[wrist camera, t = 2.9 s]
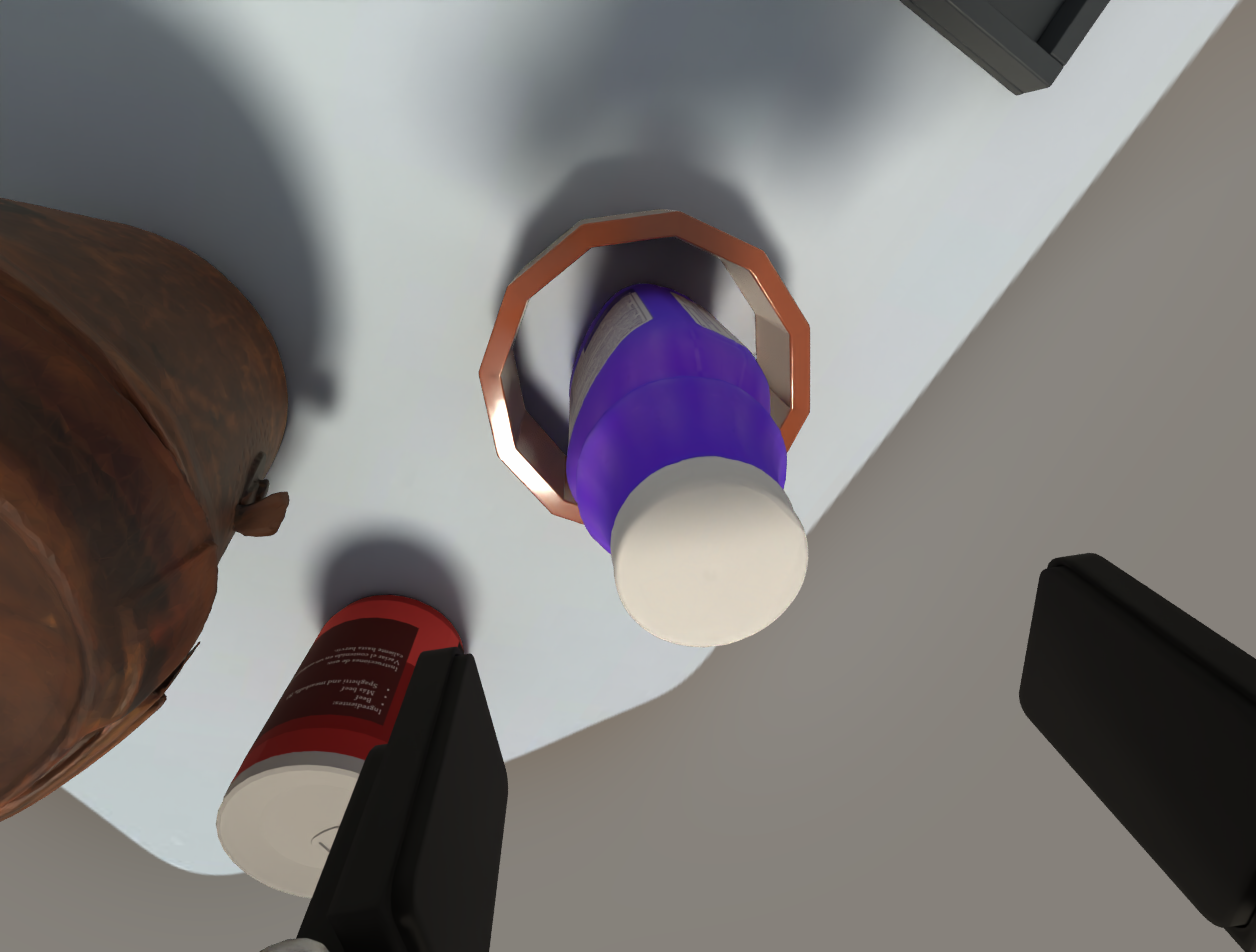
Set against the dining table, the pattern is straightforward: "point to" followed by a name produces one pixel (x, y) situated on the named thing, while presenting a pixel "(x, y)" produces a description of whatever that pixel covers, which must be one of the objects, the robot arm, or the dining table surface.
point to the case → (116, 477)
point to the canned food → (324, 739)
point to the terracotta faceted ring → (749, 266)
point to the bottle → (682, 470)
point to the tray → (1013, 34)
